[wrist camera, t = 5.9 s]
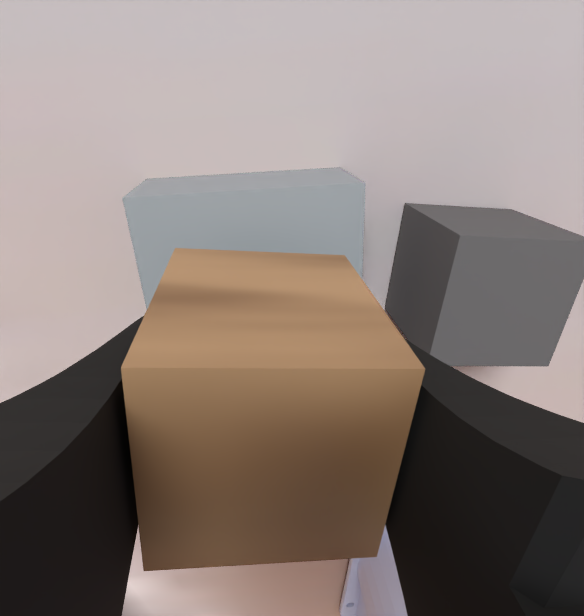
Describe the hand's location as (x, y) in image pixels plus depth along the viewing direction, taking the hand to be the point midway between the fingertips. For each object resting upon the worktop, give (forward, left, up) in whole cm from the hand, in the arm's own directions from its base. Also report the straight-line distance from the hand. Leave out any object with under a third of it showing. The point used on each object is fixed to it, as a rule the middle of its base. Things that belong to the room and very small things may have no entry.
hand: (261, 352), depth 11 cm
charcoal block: (+1, -8, -6) cm, 10 cm away
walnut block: (0, 0, -2) cm, 2 cm away
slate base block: (0, 0, -7) cm, 7 cm away
